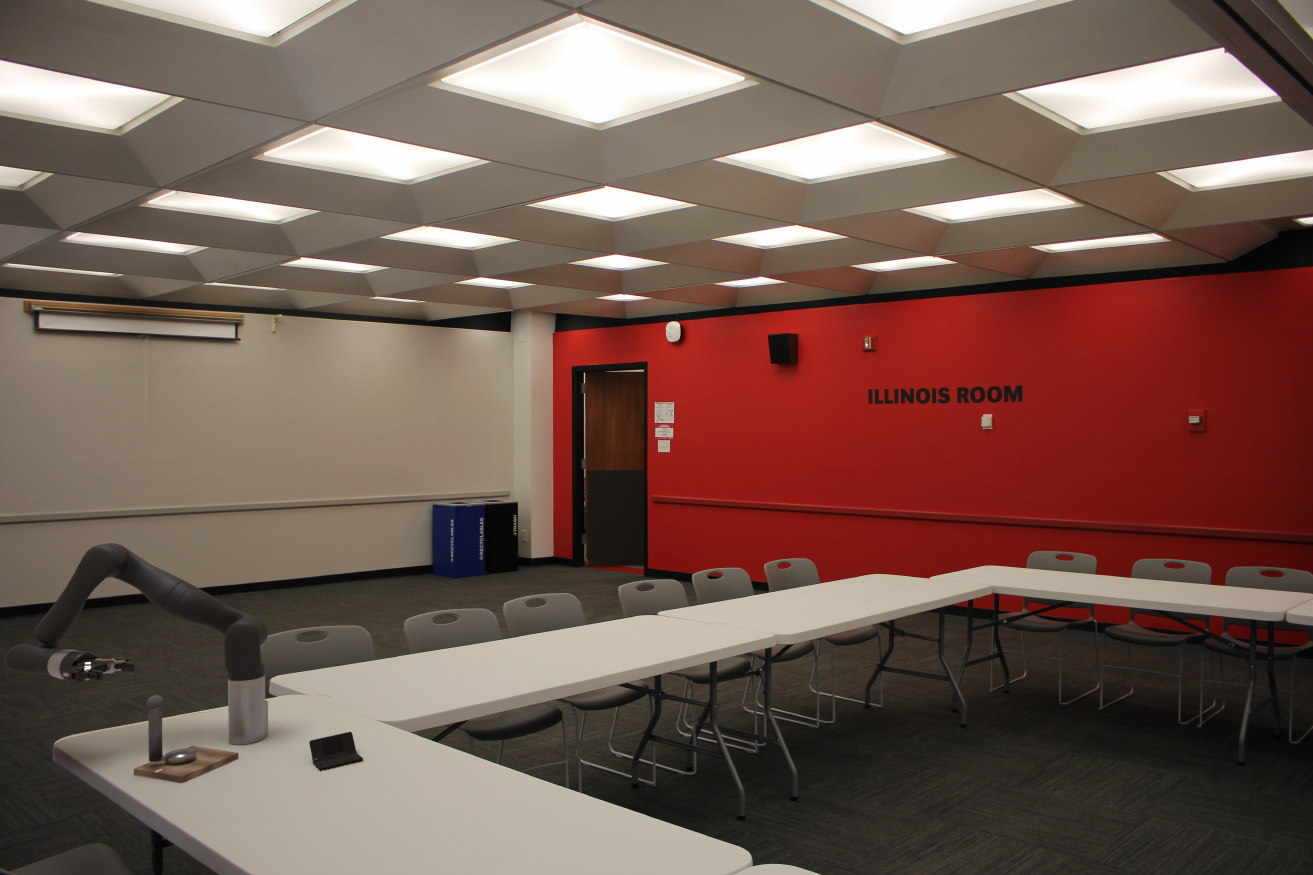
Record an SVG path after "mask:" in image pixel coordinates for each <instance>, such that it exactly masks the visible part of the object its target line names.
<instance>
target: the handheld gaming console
mask: <svg viewBox="0 0 1313 875" xmlns="http://www.w3.org/2000/svg"><path fill="white" fill-rule="evenodd" d="M308 745H309V749H310V753H311V759H312V765H313V764H314V765H315V766H316V767H315V766H314V765H313V766H314V767H315V768H316V769H317V768H318V769H317V770H318V771H319V770H320V771H319V772H323V771H322V770H324V771H327V769H328V770H331V768H332V769H336V767H337V768H340V766H341V767H345V766H349V765H353V764H357V763H361V762H364V757H362V755H360V754H359V753H357V748H356V744H355V739H354V735H353V732H352V731H347V732H343V733H339V734H332V735H329V736H325V737H320V738H316V739H311V740H309V742H308ZM344 765H345V766H344Z"/></svg>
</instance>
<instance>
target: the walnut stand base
mask: <svg viewBox="0 0 1313 875" xmlns="http://www.w3.org/2000/svg"><path fill="white" fill-rule="evenodd" d="M187 748H194V749H196V758H195V759H193V760H191V761H188V762H185V763H179V764H167V763H165V761H162V762H157V763H156V762H149V761H148V763H145V764H142V765H138V766H137V767H134V768H133V776H138V777H144V776H145V777H144V778H150V777H151V779H157V780H162V781H167V780H168V782H174V783H180V784H182V783H185V782H188V781H189V780H192V779H194V778H196V776H197V777H199V776H201V775H204V774H206V773H208V772H210V771H213V770H215V769H218V768H219V767H222V766H224V764H225V765H226V764H229V763H231V762H233V761H236V760H238V759H239V752H235V751H229V750H223V749H218V748H217V749H216V748H210V747H203V746H197V745H191V746H188V747H187Z"/></svg>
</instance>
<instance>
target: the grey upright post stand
mask: <svg viewBox="0 0 1313 875" xmlns="http://www.w3.org/2000/svg"><path fill="white" fill-rule="evenodd" d="M163 705H164V698H163V697H162V696H160V694H154V695H152V696H150V697H148V699H147V701H146V706H147V714H148V715H147V716H148V717H147V718H148V723H147V724H148V725H147V726H148V729H147V730H148V735H147V736H148V763H149V762H156V763H157V762H162V761H165V763H167V764H179V763H185V762H188V761H191V760H193V759H195V758H196V749H194V748H188V747H183V748H177V749H173V750H170V751H168V752H166V753H165V754H164V753H163V751H164V750H163Z"/></svg>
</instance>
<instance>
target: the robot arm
mask: <svg viewBox="0 0 1313 875" xmlns="http://www.w3.org/2000/svg"><path fill="white" fill-rule="evenodd" d="M108 578H109V579H110V578H114V579H117V580H119V581H122V582H123V583H126V584H128V585H130V586H131V587H134V588H135V589H136V590H139V592H141V594H143V596H144V597H145V598H146V599H147V600H149V602H150V603H152V604H153V606H155V607H156V608H158V609H160V610H161V611H163V612H165V613H167V614H169V615H171V616H172V617H175V618H178V619H180V620H183V621H187V622H191V623H195V624H197V625H198V624H199V625H202V626H206V627H210V628H212V629H215V630H216V631H219V632H221V633H222V634H224V641H223V642H224V643H223V646H224V648H223V649H224V652H223V653H224V667H225V670H226V672H227V694H228V696H227V699H228V703H227V704H228V715H227V717H228V721H227V722H228V743H229V744H231V745H249V744H252V743H253V744H254V743H257V742H259V741H261V740H264V739H265V738H266V736H269V701H268V700H266V668H265V665H264V664H263V663H262V658H261V657H262V656H261V646H262V645H263V644H264V643H265V642H266V641H267V639H268V637H269V628H268V626H267V624H266V622H265V621H264V620H263V619H261V618H260V617H257V616H256V615H253V614H251V613H249V612H245V611H242V610H241V609H238V608H236V607H233V606H230V605H229V604H227V603H226V602H223V601H222V600H220V599H219V598H217V597H215V596H213V595H211V594H209V593H208V592H205V591H204V590H202V589H200V588H198V587H197V586H195V585H194V584H191V583H190V582H188V581H186V580H184V579H182V578H181V577H177V576H176V575H174V574H172V573H170V572H168V571H165V570H163V569H162V568H159V567H157V566H155V565H153V564H152V563H149V562H148V561H146V560H145V559H143V558H141V557H140V556H138V555H137V554H136V553H134V552H133V551H131V550H130V549H129V548H127V547H125V546H124V545H121V544H120V543H116V542H115V543H114V542H111V543H110V542H109V543H102V544H97V545H94V546H92V547H90V548H89V549H88V550H86V552H85V553H84V555H83V556H82V558H81V559H80V562H79V563H78V565H77V567H76V569H75V571H74V573H73V574H72V576H71V578H70V580H69V581H68V583H67V584H66V586H65V588H64V589H63V591H62V592H61V593H60V596H58V598H57V600H55V603H54V604H52V606H51V607H50V609H49V610H48V611H47V613H46V614H45V615H44V616H43V617H42V619H41V620H40V622H39V623H38V624H37V625H36V627H35V628H34V630H33V633H32V634H33V637H34V639H36V640H37V641H39V642H41V643H40V644H39V645H33V644H26V643H19V644H16V645H14V646H12V647H11V648H10V649H8V651H7V652H6V654H5V657H4V663H5V666H6V668H8V669H9V670H10V671H13V672H19V673H29V674H39V675H43V676H48V677H54V678H57V679H60V680H65V681H70V682H71V681H73V682H75V683H76V682H78V683H81V682H87V681H90V680H93V681H102V680H103V679H104V675H105V674H114V673H115V672H127V673H132V672H134V671H135V663H134V662H130V661H131V659H130V658H128V657H119V656H111V657H109V658H107V659H104V658H99V657H97V655H96V654H94V653H93V652H90V651H83V650H75V649H62V648H60V645H61V643H62V641H63V639H64V638H65V637H66V636H67V634H68V633H69V631H71V629H72V627H73V626H74V625H75V623H76V622H77V620H78V619H79V617H80V615H81V613H82V612H83V608H84V607H85V604H86V602H87V600H88V598H89V597H90V596H91V594H92V593H93V592H94V591H95V589H97V588H98V586H99V585H100V584H101V583H102V582H103V581H105V580H106V579H108ZM109 667H110V669H109V670H108V668H109Z"/></svg>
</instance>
